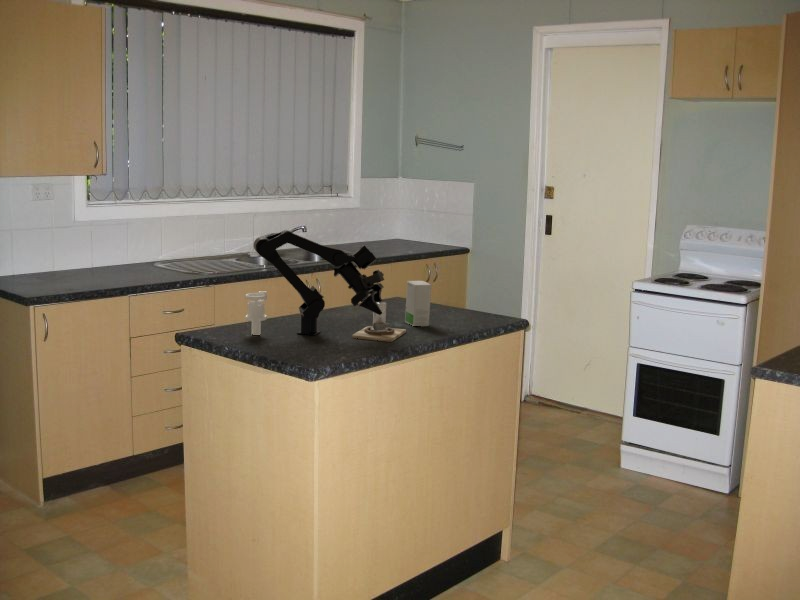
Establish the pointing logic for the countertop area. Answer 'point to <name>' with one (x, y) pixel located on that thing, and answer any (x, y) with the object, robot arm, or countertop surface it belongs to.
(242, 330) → the countertop surface
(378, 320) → the aluminium hub pin
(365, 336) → the maple board
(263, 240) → the robot arm
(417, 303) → the skincare box
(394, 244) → the countertop surface
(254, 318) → the grey stepped cylinder
